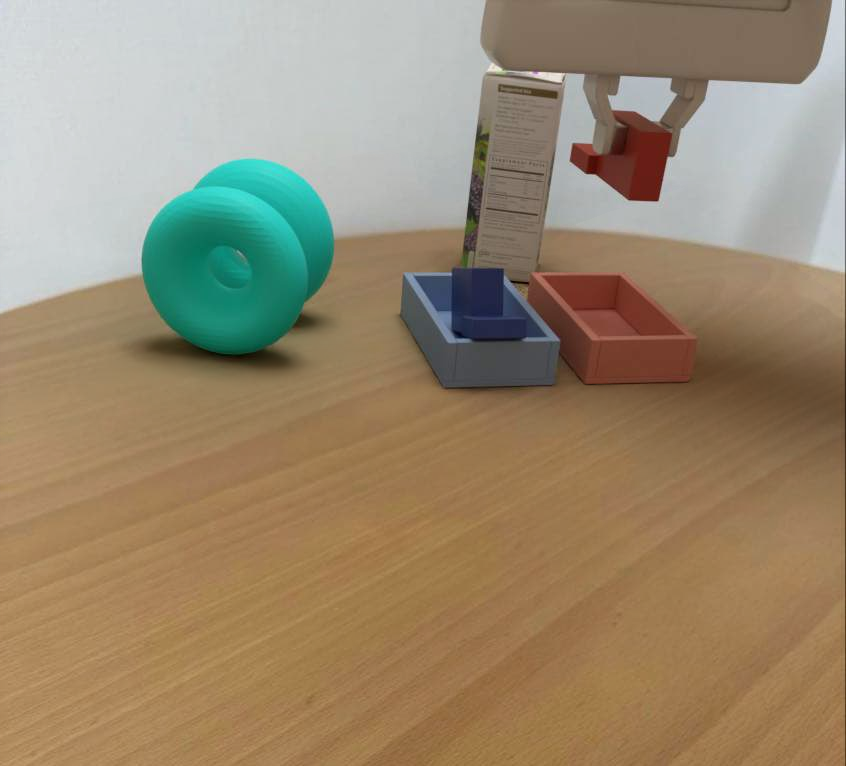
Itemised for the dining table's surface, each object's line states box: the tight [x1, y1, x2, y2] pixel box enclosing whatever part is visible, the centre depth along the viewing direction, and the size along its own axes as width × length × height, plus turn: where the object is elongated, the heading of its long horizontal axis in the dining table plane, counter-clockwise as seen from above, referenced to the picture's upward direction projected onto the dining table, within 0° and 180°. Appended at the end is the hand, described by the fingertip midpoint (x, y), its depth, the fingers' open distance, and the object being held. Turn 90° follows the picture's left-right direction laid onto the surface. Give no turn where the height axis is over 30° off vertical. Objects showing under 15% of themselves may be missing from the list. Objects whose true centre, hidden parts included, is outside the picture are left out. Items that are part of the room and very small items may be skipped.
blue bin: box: [399, 272, 560, 389], centre depth 74 cm, size 7×12×3 cm, turn 13°
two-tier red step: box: [569, 109, 672, 203], centre depth 72 cm, size 9×3×4 cm, turn 13°
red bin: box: [526, 271, 699, 385], centre depth 76 cm, size 7×12×3 cm, turn 13°
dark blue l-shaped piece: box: [451, 267, 527, 339], centre depth 71 cm, size 9×3×4 cm, turn 10°
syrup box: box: [460, 62, 568, 283], centre depth 85 cm, size 6×6×14 cm
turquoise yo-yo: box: [141, 158, 335, 356], centre depth 71 cm, size 10×10×10 cm
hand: (633, 154), depth 70 cm, fingers closed on two-tier red step, 2 cm apart
